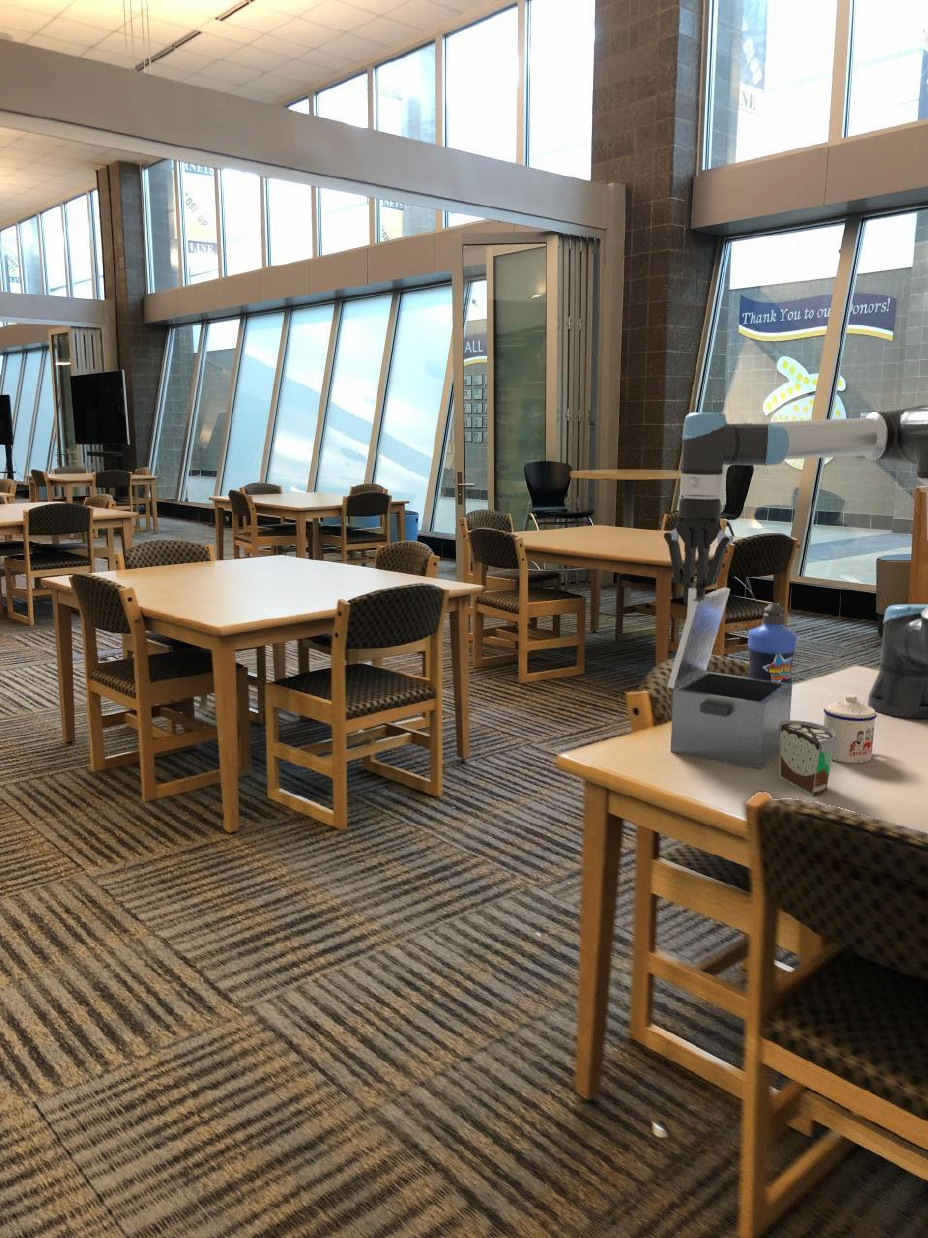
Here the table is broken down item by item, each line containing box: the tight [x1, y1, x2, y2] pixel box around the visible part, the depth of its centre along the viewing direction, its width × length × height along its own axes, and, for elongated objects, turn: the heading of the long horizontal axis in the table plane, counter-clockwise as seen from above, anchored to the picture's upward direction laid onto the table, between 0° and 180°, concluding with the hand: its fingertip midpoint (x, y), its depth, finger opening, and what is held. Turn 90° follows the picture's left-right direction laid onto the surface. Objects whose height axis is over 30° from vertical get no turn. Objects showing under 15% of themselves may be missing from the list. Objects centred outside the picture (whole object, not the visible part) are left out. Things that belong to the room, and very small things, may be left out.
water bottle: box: [747, 602, 798, 720], centre depth 197 cm, size 9×9×25 cm
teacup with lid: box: [823, 694, 878, 764], centre depth 179 cm, size 12×9×12 cm
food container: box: [778, 719, 838, 797], centre depth 164 cm, size 12×6×10 cm, turn 17°
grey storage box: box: [670, 670, 793, 770], centre depth 183 cm, size 17×21×12 cm
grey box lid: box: [666, 586, 731, 690], centre depth 184 cm, size 17×18×3 cm
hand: (693, 621), depth 184 cm, fingers closed
